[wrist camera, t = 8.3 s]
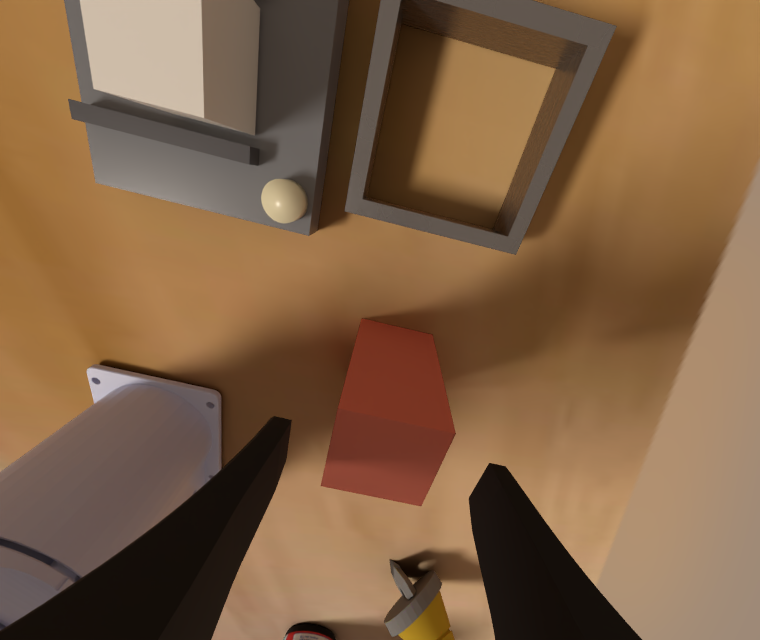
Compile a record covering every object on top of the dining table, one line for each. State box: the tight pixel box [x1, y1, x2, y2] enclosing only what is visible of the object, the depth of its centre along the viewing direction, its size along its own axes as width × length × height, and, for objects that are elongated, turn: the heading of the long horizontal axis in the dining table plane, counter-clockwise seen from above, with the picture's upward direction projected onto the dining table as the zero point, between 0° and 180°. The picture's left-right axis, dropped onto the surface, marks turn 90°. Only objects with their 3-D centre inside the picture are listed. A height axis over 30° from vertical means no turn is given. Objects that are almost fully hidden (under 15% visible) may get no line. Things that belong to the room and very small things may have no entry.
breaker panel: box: [64, 0, 349, 236], centre depth 10 cm, size 10×9×2 cm
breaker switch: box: [80, 0, 260, 135], centre depth 9 cm, size 4×3×3 cm
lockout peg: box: [321, 318, 456, 506], centre depth 14 cm, size 4×4×7 cm
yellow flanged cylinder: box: [384, 560, 454, 640], centre depth 23 cm, size 5×5×10 cm
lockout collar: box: [345, 0, 617, 255], centre depth 11 cm, size 7×7×2 cm
